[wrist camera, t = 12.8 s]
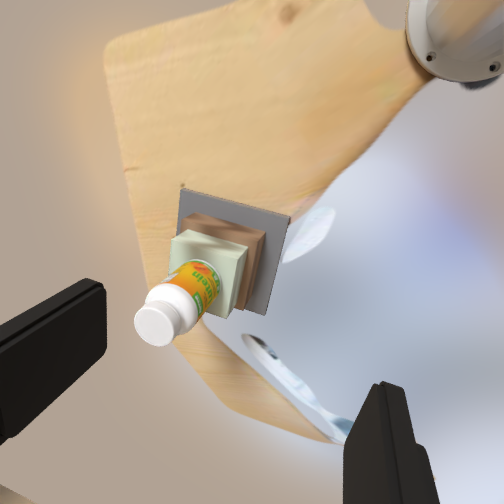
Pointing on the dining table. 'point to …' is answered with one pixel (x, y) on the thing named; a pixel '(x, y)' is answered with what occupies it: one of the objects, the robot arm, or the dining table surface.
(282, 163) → the dining table surface
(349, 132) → the dining table surface
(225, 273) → the two-tone block stack
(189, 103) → the dining table surface
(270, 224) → the baseplate
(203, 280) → the supplement bottle
